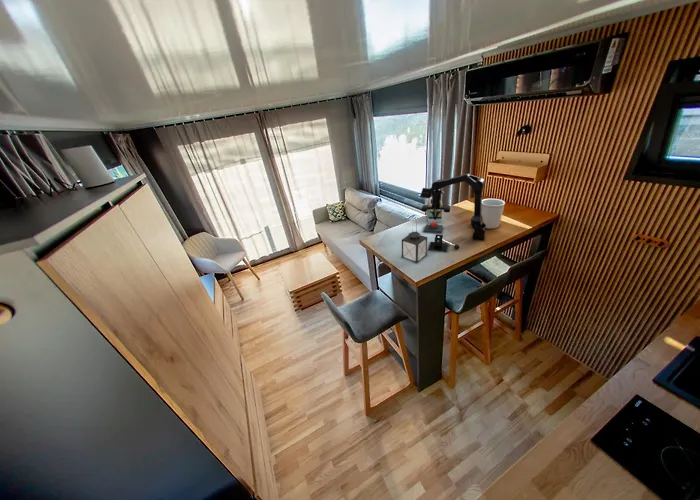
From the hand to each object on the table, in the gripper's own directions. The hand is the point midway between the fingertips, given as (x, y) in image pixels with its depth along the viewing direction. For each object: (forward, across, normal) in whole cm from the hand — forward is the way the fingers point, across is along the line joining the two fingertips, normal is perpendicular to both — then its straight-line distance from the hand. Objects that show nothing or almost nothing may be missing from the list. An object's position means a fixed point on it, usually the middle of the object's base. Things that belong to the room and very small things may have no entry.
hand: (435, 219), depth 180 cm
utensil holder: (+9, -36, -16) cm, 41 cm away
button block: (+9, +1, -2) cm, 9 cm away
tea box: (+10, +3, -22) cm, 24 cm away
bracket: (+9, -5, +23) cm, 26 cm away
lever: (+6, -10, +23) cm, 26 cm away
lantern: (+10, +8, +37) cm, 39 cm away
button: (+6, +1, -2) cm, 6 cm away
